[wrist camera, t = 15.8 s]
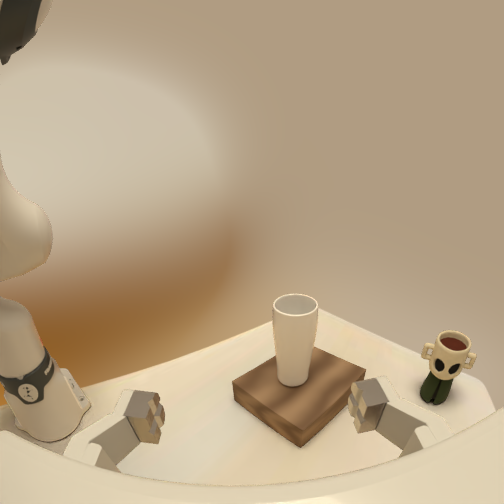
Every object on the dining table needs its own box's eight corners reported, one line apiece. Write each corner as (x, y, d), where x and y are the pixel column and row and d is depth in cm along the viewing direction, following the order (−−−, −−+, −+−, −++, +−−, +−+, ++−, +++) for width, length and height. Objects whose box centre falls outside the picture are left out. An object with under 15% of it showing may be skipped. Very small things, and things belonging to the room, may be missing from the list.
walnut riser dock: (234, 399, 46) (232, 381, 45) (299, 358, 57) (300, 339, 56) (300, 447, 34) (303, 430, 33) (361, 388, 46) (366, 369, 44)
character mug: (404, 399, 40) (424, 344, 37) (413, 377, 45) (430, 324, 42) (453, 412, 33) (480, 357, 30) (458, 389, 38) (480, 335, 35)
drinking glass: (296, 360, 49) (299, 289, 44) (320, 380, 43) (328, 305, 39) (265, 374, 46) (263, 301, 41) (287, 397, 40) (290, 321, 35)
